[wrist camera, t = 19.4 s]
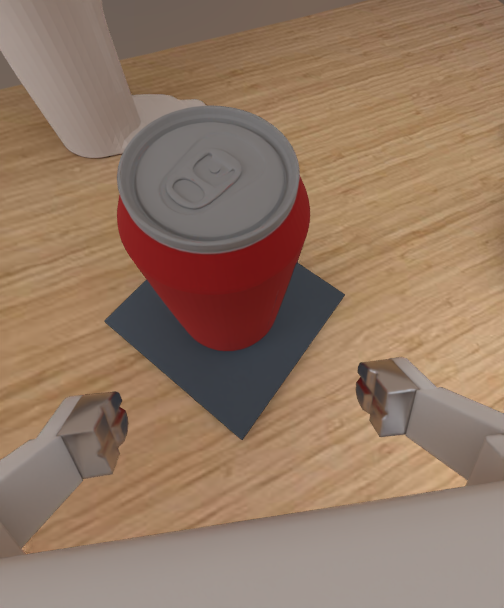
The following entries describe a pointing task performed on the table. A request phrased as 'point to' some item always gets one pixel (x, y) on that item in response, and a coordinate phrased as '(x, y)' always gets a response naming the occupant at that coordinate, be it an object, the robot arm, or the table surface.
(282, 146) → the beverage can
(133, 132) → the candle
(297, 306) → the mat
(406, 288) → the table surface
